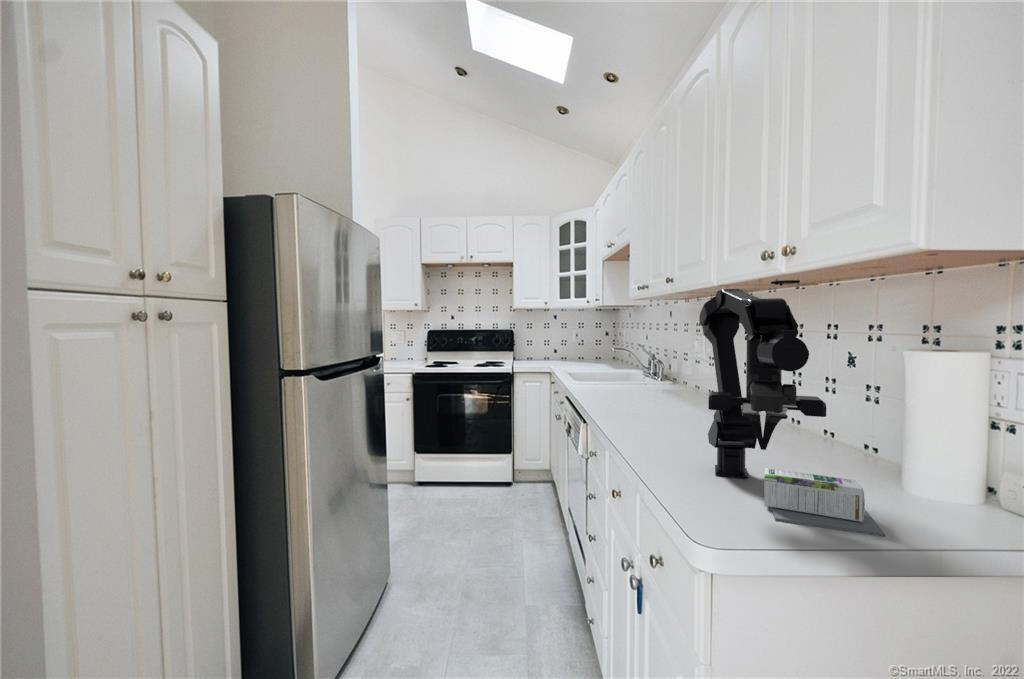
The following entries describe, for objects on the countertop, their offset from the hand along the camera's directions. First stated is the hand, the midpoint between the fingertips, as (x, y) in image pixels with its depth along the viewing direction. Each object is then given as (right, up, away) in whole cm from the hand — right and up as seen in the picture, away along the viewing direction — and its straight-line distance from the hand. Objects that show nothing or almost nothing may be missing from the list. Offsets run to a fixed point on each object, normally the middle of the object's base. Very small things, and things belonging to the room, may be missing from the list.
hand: (763, 449), depth 85 cm
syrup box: (0, -7, 0) cm, 7 cm away
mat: (+8, -10, -3) cm, 13 cm away
